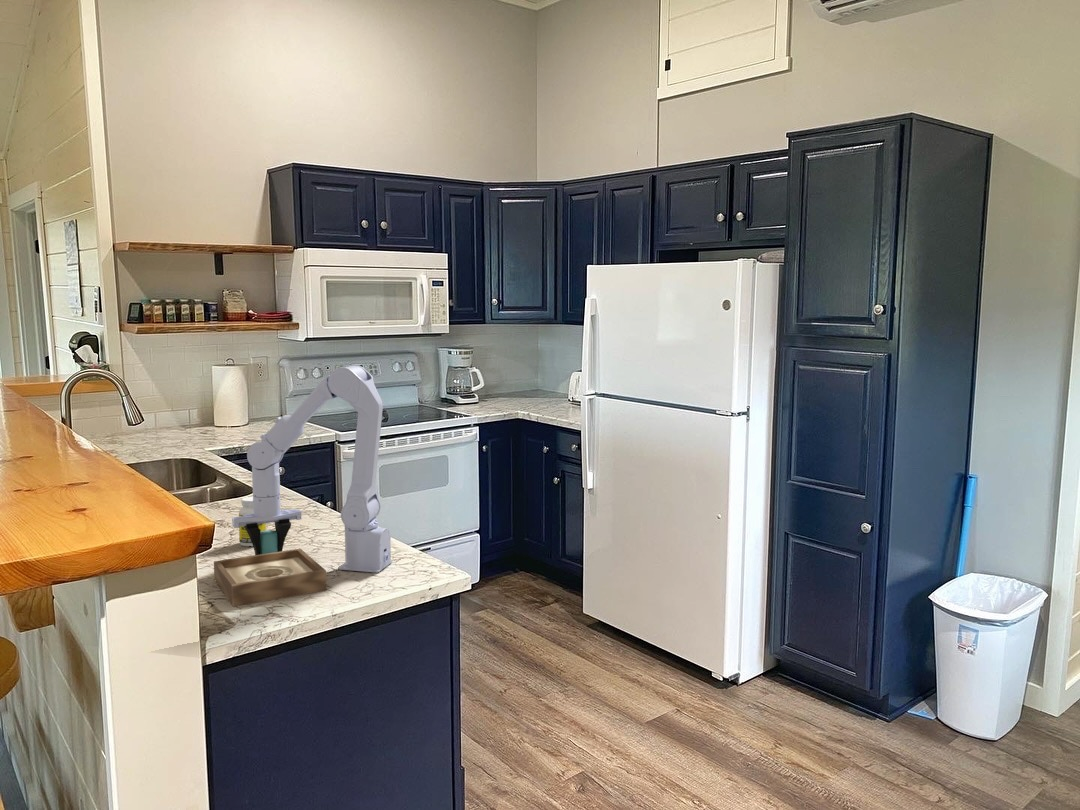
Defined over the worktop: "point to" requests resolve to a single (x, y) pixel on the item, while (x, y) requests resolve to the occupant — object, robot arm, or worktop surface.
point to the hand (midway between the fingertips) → (268, 554)
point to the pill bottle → (243, 534)
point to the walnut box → (269, 576)
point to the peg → (268, 541)
